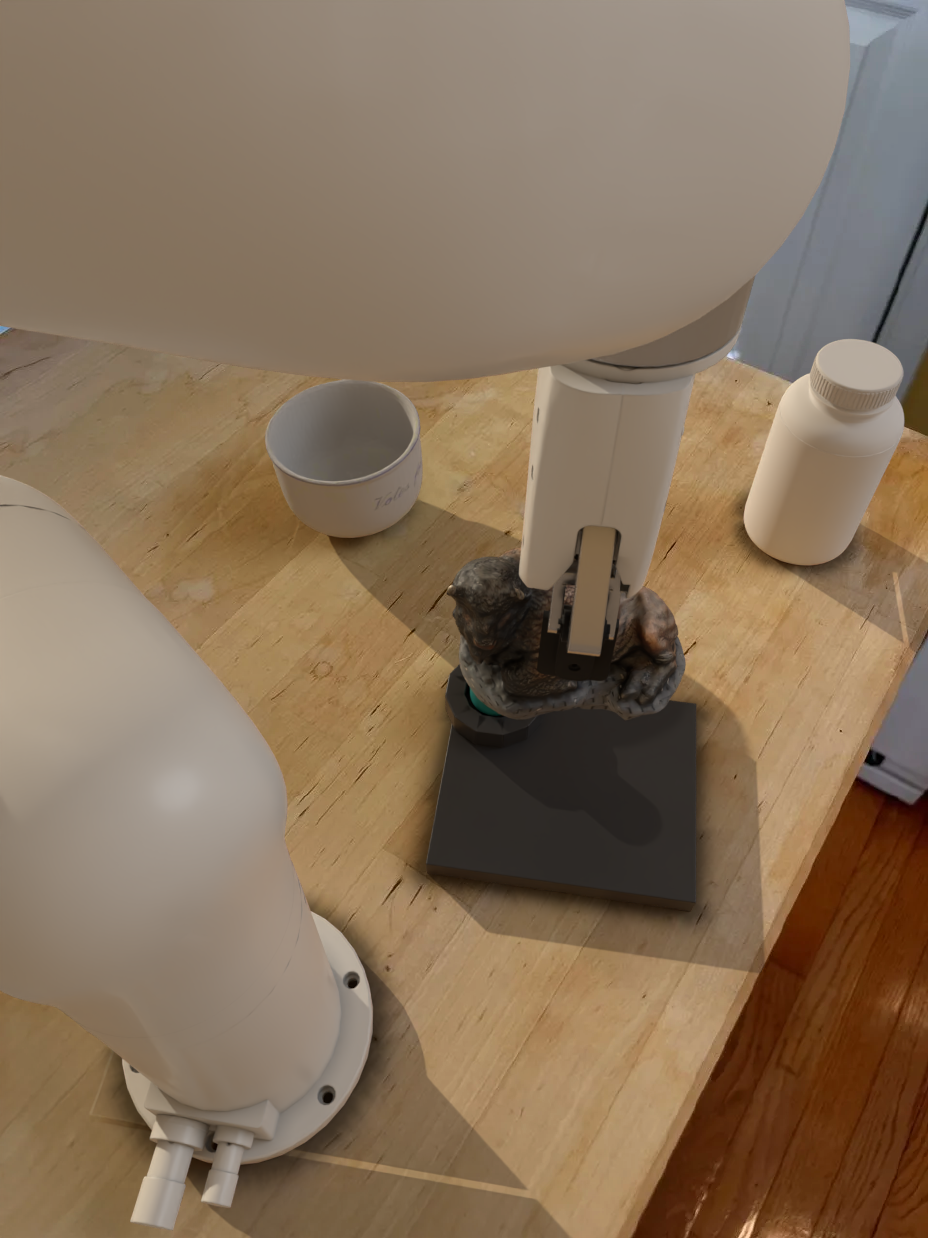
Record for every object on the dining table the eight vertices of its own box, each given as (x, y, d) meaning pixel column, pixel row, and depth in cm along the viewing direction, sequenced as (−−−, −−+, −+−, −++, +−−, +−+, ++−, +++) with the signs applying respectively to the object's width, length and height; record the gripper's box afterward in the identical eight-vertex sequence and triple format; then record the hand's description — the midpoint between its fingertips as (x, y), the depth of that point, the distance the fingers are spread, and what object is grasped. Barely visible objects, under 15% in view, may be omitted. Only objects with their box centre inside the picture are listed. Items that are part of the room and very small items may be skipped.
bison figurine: (660, 616, 51) (700, 494, 43) (694, 732, 47) (744, 622, 39) (441, 639, 50) (438, 518, 42) (457, 758, 46) (457, 652, 38)
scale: (691, 912, 52) (702, 892, 50) (417, 872, 54) (414, 851, 51) (692, 701, 61) (701, 675, 58) (455, 671, 62) (454, 645, 60)
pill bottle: (718, 525, 70) (770, 359, 58) (784, 475, 73) (845, 308, 61) (806, 587, 67) (881, 423, 55) (871, 531, 70) (955, 365, 58)
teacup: (405, 569, 68) (399, 489, 61) (262, 547, 69) (241, 466, 63) (446, 441, 76) (444, 359, 70) (317, 423, 77) (304, 341, 71)
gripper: (541, 141, 36) (516, 484, 50) (486, 438, 26) (474, 766, 40) (739, 156, 35) (657, 499, 50) (766, 466, 25) (652, 788, 39)
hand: (576, 615), depth 45 cm, fingers closed on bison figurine, 5 cm apart
